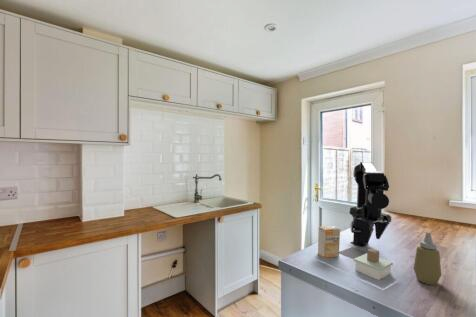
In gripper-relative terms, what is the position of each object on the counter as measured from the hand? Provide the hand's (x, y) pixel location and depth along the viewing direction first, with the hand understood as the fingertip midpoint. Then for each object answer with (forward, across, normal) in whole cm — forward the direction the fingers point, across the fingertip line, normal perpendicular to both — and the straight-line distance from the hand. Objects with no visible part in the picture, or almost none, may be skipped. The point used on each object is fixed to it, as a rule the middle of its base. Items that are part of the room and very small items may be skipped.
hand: (372, 241), depth 96 cm
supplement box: (+12, +4, -17) cm, 21 cm away
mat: (+12, -8, -10) cm, 17 cm away
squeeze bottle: (+12, -8, +16) cm, 21 cm away
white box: (+11, +3, +2) cm, 12 cm away
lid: (+7, +3, +2) cm, 8 cm away
